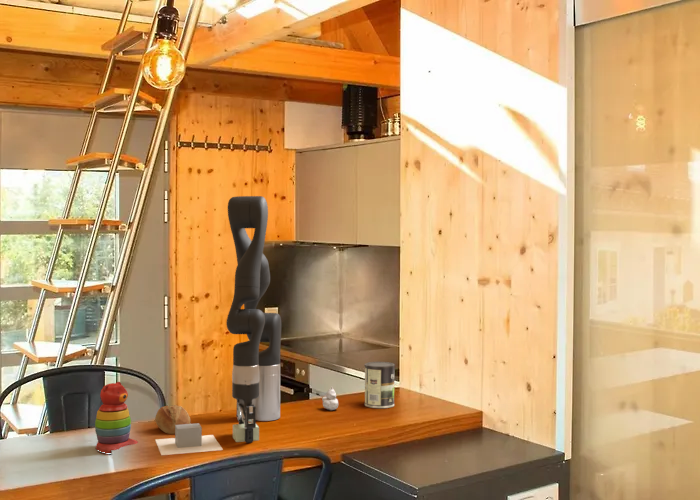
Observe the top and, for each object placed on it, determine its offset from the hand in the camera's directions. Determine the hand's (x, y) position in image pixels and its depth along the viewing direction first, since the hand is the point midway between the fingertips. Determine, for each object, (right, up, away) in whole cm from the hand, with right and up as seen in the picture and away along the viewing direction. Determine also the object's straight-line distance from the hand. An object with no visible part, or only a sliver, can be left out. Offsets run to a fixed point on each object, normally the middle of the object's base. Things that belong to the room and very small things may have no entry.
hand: (245, 438), depth 223 cm
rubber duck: (+22, -1, +42) cm, 47 cm away
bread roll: (-23, -1, +11) cm, 25 cm away
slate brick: (-15, 0, -6) cm, 16 cm away
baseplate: (-15, -1, -6) cm, 16 cm away
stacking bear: (-35, -2, -6) cm, 36 cm away
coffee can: (+39, 0, +49) cm, 62 cm away
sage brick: (0, -2, 0) cm, 2 cm away
